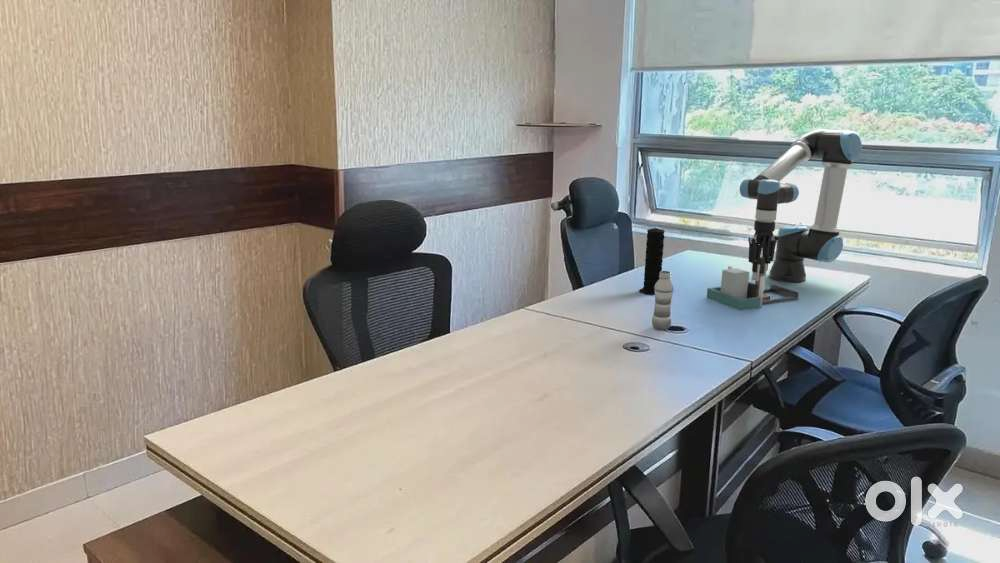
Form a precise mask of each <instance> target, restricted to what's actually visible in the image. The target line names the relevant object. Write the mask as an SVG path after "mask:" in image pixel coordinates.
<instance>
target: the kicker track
mask: <svg viewBox="0 0 1000 563" xmlns="http://www.w3.org/2000/svg"><path fill="white" fill-rule="evenodd" d="M767 292H768V293H774V294H777V295H780V296H783V297H779V298H773V299H771V298H770V300H764V301H762V306H763V305H770V304H776V303H777V304H778V303H782V302H783V303H784V302H790V301H796V300H799V294H800V292H799V291H796V290H793V289H791V288H790V289H789V288H787V287H785V286H780V285H777V284H775V283H770V285H769V288H764V291H763V294H767Z"/></svg>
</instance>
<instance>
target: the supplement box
mask: <svg viewBox="0 0 1000 563" xmlns="http://www.w3.org/2000/svg"><path fill="white" fill-rule="evenodd" d="M749 280H750V271H747V270H744V269H740V268H737V267H736V268H735V267H734V268H733V267H732V269H728V268H727V269H722V272H721V282H720V283H721V284H720V287H721V292H723V293H725V294H728V295H731V296H734V297H737V298H739V299H746V298H747V292H748V282H750V281H749Z"/></svg>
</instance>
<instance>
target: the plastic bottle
mask: <svg viewBox="0 0 1000 563" xmlns="http://www.w3.org/2000/svg"><path fill="white" fill-rule="evenodd" d="M671 273H672V272H670V271H667V270H662V271H660V275H659V278H660V279H659V280H658V281H657V283H656V284H655V287H654V288H655V289H654V290H655V295H654V309H653V315H652V318H651V324H652V327H653V329H657V330H664V331H665V330H668V329H670V328H671V324H672V317H671V305H672V304H671V303H672V298H673V293H674V285H673V282H672V281H671V280H670V279H671V277H672V276H671Z"/></svg>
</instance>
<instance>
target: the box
mask: <svg viewBox="0 0 1000 563" xmlns="http://www.w3.org/2000/svg"><path fill="white" fill-rule="evenodd" d="M727 269H733V266H731V265H728V266H727ZM764 289H765V276H761V277H760V286H759V295H758V297H753V298H746V299H739V298H737V297H734V296H731V295H728V294H725V293H723V292H721V286H714V287H707V289H706V299H709V300H711V301H714V302H716V303H718V304H722V305H724V306H726V305H727V307H729V308H733V309H734V308H735V309H734V310H738V311H741V312H742V311H746V310H754V309H760V308H762V307H763V305H762V300H763V294H764V293H763V291H764Z"/></svg>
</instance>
